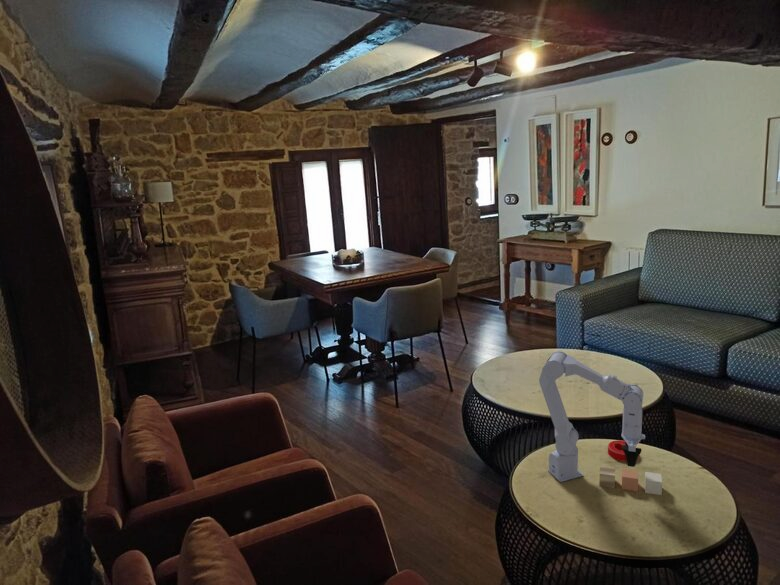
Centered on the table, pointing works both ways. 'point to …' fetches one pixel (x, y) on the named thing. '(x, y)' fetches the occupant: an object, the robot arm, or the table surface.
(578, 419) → the table surface
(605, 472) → the beech cube
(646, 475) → the cream cube
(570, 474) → the robot arm
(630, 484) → the terracotta cube
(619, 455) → the decorative ornament
